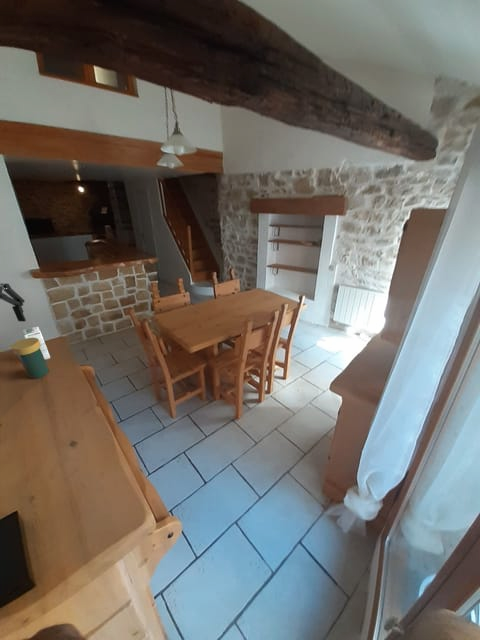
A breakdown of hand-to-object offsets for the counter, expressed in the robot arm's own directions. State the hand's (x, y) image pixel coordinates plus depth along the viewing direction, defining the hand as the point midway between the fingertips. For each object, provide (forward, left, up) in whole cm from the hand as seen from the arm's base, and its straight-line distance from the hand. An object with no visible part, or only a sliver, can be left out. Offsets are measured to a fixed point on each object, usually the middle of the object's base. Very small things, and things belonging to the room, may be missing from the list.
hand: (7, 329), depth 98 cm
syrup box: (+4, +8, -20) cm, 22 cm away
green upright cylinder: (+5, -5, -20) cm, 21 cm away
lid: (+5, -5, -6) cm, 9 cm away
